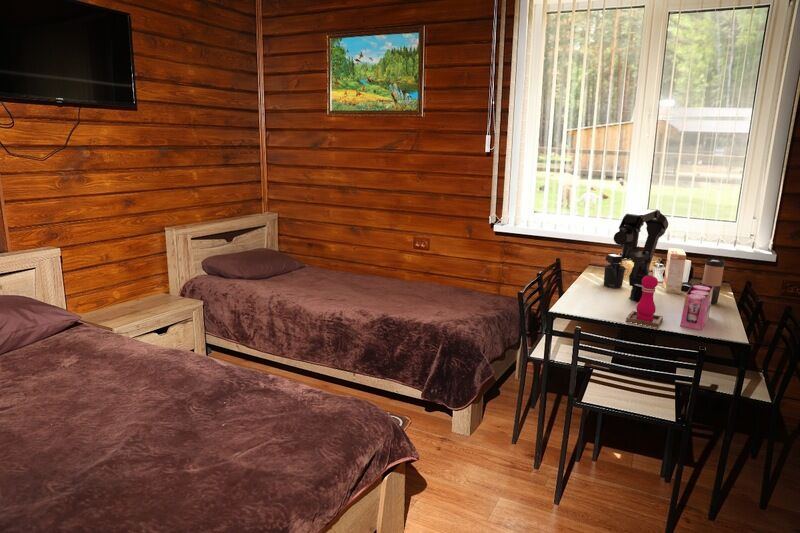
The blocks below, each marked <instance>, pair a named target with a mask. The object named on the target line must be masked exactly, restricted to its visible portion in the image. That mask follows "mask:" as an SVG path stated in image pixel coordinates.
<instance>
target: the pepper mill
mask: <svg viewBox="0 0 800 533" xmlns="http://www.w3.org/2000/svg"><path fill="white" fill-rule="evenodd" d="M658 284H659V281H658V278H657V277H656V276H654V273H653V272H652V271H650V272H649V274H648V276H645V277H643V279H642V285H643V287H642V291H643V294H642V297H641V299H640V301H639V302H637V305H636V308H635V311H637V312H638V314H637V316H636V319H638V320H644V321H649V322H652V321H653V316H652V315H655V314H656V312H657V310H656V304H655V301H654V300H655V299H654V294H655V292H656V288H657V287H658Z"/></svg>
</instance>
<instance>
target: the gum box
mask: <svg viewBox="0 0 800 533" xmlns="http://www.w3.org/2000/svg"><path fill="white" fill-rule="evenodd" d="M713 287H714V286H710V285H703V284H702V283H695V282H694V283H692V285H691V287H690V288H689V289H688V291H687V292H686V293H685V297H684V303H683V308H682V315H681V319H680V324H679V325H680V327H682V326H684V327H683V328H687V327H689V328H688V329H692V328H694V329H693V330H697V329H698V331H702V330H703V328H704V326H705V324H706V323H707V321H708V319H709V317H710V310H711V305H712V304H711V299H712V293H713Z"/></svg>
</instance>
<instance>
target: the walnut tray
mask: <svg viewBox="0 0 800 533" xmlns="http://www.w3.org/2000/svg"><path fill="white" fill-rule="evenodd" d="M637 314H638V312H637V310H631V311H630V313H629V314H628V315H627V316H626V318H625V323H627V322H632V323H631V324H633V323H637V324H636V325H638V324H642V325H641V326H643V325H646V326H645V327H648V326H651V327H650V328H653V327H657V328H656V329H659V327H660V326H661V324H662V322H663V319H664V316H662V315H660V314H659V315H658V314H653V315H652V316H653V321H652V322H649V321H644V320H638V319H636V316H637ZM659 325H660V326H659Z"/></svg>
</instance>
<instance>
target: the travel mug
mask: <svg viewBox="0 0 800 533" xmlns="http://www.w3.org/2000/svg"><path fill="white" fill-rule="evenodd" d="M725 263H726V261H725V260H724V259H720V258H716V257H715V258H713V257H712V258H710V257H708V258H705V265H704V270H703V276H702V282H701V284H703V285H710V286H714V287H713V293H712V299H711V305H717V304H718V303H719V302H718V301H719V298H720V297H719V296H720V293H721V287H722V282H723V276H724V275H723V274H724V269H725Z"/></svg>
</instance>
